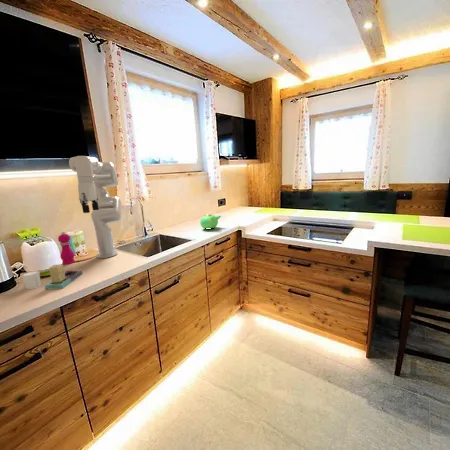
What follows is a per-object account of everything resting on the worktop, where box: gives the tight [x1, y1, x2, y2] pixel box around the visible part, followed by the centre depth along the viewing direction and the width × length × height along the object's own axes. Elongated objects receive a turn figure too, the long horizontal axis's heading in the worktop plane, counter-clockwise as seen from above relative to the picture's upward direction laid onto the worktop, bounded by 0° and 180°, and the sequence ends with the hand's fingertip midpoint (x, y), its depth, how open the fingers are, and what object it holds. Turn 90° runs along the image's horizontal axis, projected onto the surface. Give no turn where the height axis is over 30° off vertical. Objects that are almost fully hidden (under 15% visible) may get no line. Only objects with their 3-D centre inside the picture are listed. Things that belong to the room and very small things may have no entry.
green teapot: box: [199, 213, 222, 229], centre depth 219 cm, size 18×17×15 cm
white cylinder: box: [21, 270, 42, 290], centre depth 114 cm, size 7×7×7 cm
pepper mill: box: [57, 231, 76, 265], centre depth 144 cm, size 7×7×20 cm
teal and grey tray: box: [44, 269, 83, 290], centre depth 120 cm, size 17×8×2 cm, turn 2°
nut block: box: [48, 263, 66, 284], centre depth 114 cm, size 4×4×10 cm
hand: (91, 211), depth 129 cm, fingers open, 9 cm apart
